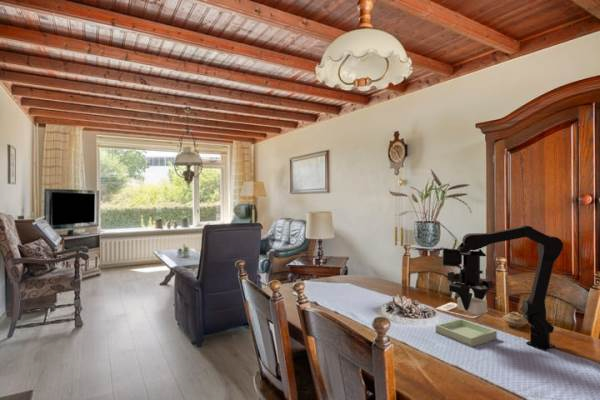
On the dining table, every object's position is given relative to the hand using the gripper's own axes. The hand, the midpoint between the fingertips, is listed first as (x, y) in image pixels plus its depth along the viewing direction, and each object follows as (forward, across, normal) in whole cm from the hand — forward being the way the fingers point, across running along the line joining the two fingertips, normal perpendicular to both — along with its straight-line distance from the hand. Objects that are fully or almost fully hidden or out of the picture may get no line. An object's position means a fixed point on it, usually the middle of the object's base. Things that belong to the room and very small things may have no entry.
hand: (471, 308), depth 130 cm
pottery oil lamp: (+11, -29, +1) cm, 31 cm away
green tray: (+11, -1, -3) cm, 12 cm away
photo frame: (+12, -26, -23) cm, 37 cm away
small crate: (+1, 0, 0) cm, 1 cm away
